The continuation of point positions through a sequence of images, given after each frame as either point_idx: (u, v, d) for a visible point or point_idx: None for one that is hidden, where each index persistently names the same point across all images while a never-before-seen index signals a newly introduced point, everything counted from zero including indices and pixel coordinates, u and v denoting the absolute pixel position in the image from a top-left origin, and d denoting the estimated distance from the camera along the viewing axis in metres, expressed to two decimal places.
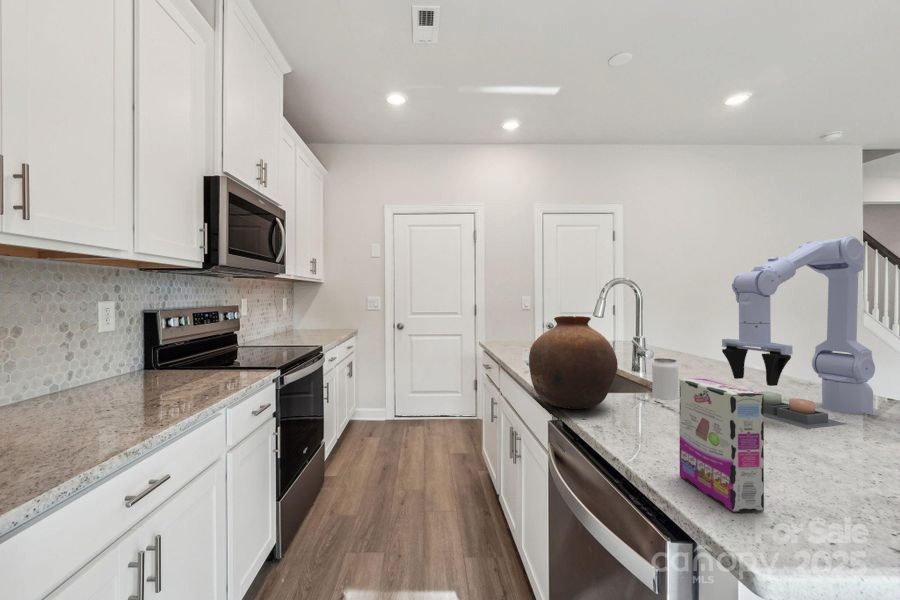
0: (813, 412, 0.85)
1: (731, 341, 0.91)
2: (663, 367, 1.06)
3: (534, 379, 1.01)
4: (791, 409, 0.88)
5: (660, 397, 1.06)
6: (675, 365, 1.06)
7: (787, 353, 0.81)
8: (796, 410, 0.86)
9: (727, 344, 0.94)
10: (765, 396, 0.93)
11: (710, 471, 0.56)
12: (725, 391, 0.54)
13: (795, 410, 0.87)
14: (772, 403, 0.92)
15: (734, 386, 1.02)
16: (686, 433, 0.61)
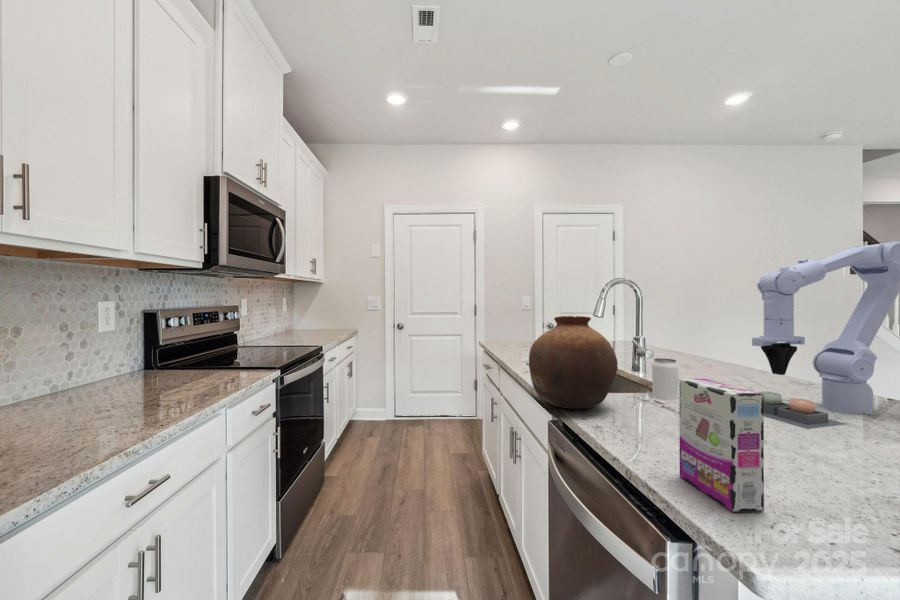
0: (813, 412, 0.85)
1: None
2: (663, 367, 1.06)
3: (534, 379, 1.01)
4: (791, 409, 0.88)
5: (660, 397, 1.06)
6: (675, 365, 1.06)
7: (753, 344, 0.93)
8: (796, 410, 0.86)
9: None
10: (765, 396, 0.93)
11: (710, 471, 0.56)
12: (725, 391, 0.54)
13: (795, 410, 0.87)
14: (772, 403, 0.92)
15: (734, 386, 1.02)
16: (686, 433, 0.61)
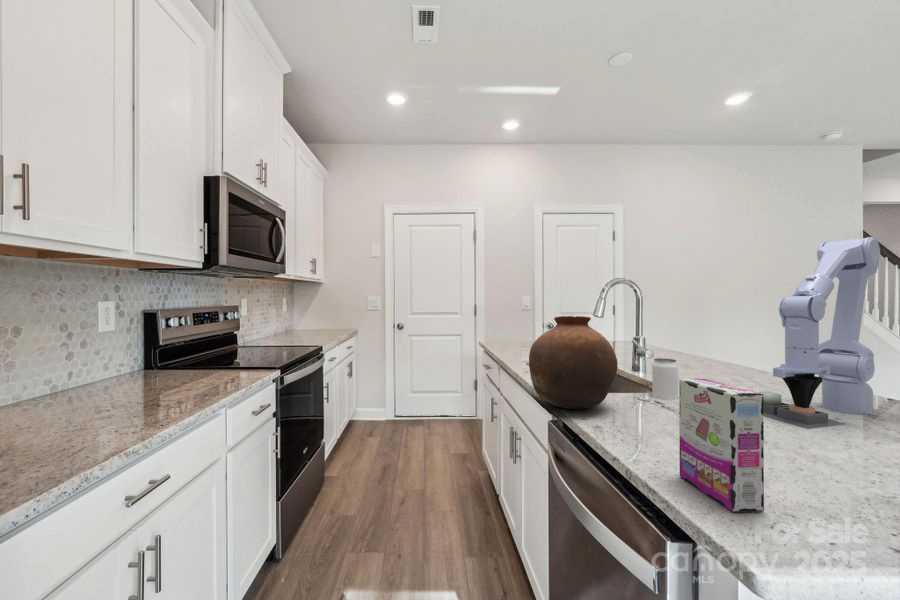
0: None
1: None
2: (663, 367, 1.06)
3: (534, 379, 1.01)
4: None
5: (660, 397, 1.06)
6: (675, 365, 1.06)
7: (775, 375, 0.86)
8: None
9: None
10: (765, 396, 0.93)
11: (710, 471, 0.56)
12: (725, 391, 0.54)
13: None
14: (772, 403, 0.92)
15: (734, 386, 1.02)
16: (686, 433, 0.61)
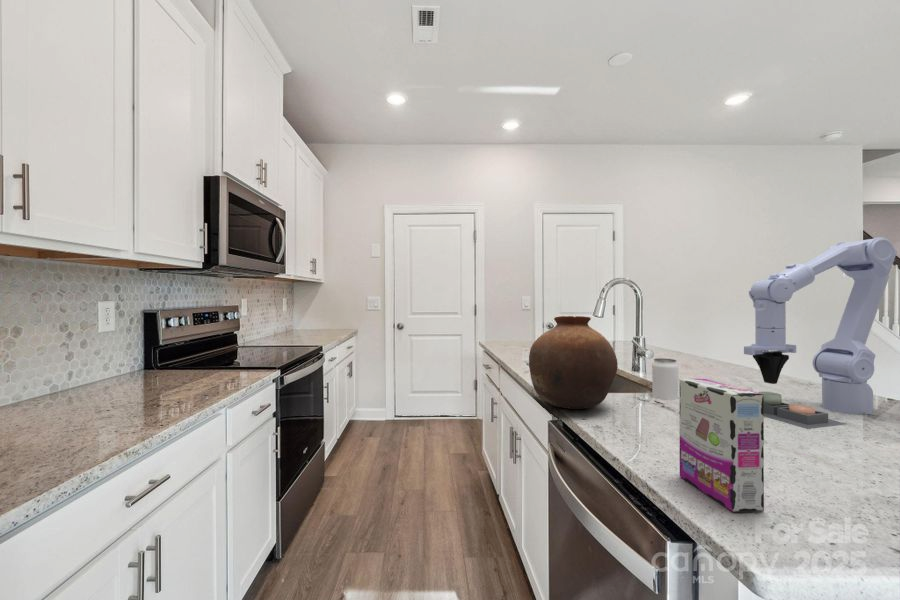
0: None
1: None
2: (663, 367, 1.06)
3: (534, 379, 1.01)
4: None
5: (660, 397, 1.06)
6: (675, 365, 1.06)
7: (745, 353, 0.92)
8: None
9: None
10: (765, 396, 0.93)
11: (710, 471, 0.56)
12: (725, 391, 0.54)
13: None
14: (772, 403, 0.92)
15: (734, 386, 1.02)
16: (686, 433, 0.61)
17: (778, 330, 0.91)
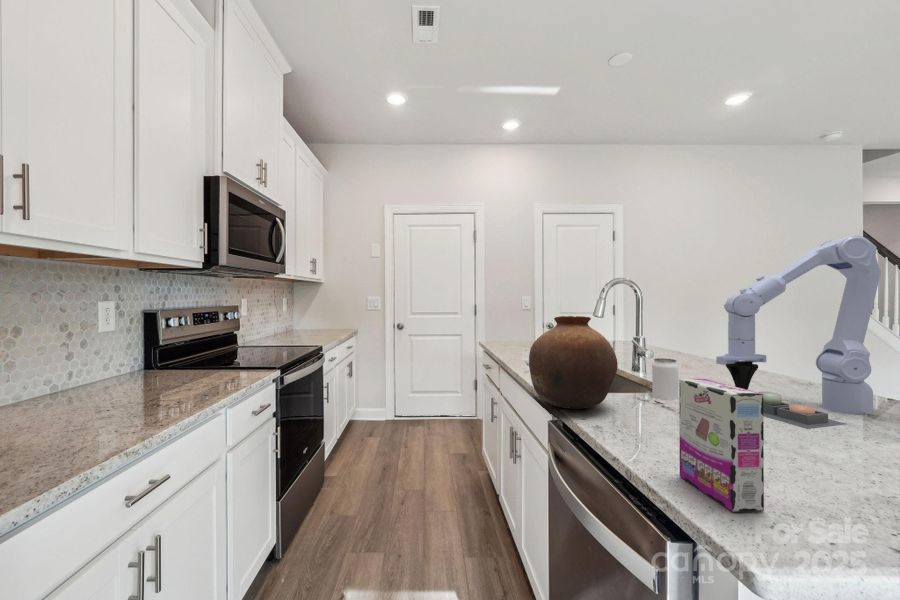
0: None
1: None
2: (663, 367, 1.06)
3: (534, 379, 1.01)
4: None
5: (660, 397, 1.06)
6: (675, 365, 1.06)
7: (718, 362, 1.00)
8: None
9: None
10: (765, 396, 0.93)
11: (710, 471, 0.56)
12: (725, 391, 0.54)
13: None
14: (772, 403, 0.92)
15: None
16: (686, 433, 0.61)
17: (748, 341, 0.98)
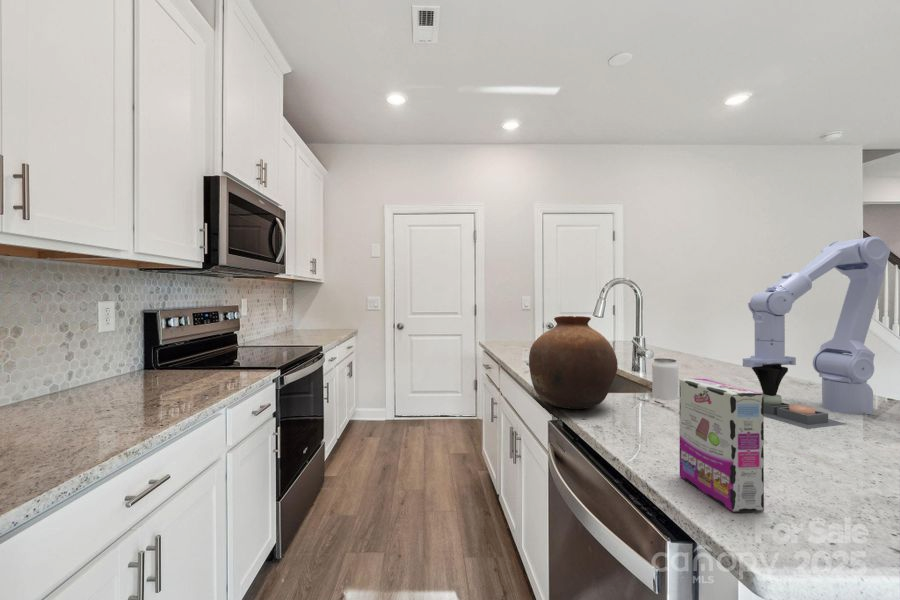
0: None
1: None
2: (663, 367, 1.06)
3: (534, 379, 1.01)
4: None
5: (660, 397, 1.06)
6: (675, 365, 1.06)
7: (744, 365, 0.93)
8: None
9: None
10: (765, 397, 0.93)
11: (710, 471, 0.56)
12: (725, 391, 0.54)
13: None
14: (772, 404, 0.92)
15: None
16: (686, 433, 0.61)
17: (777, 343, 0.91)
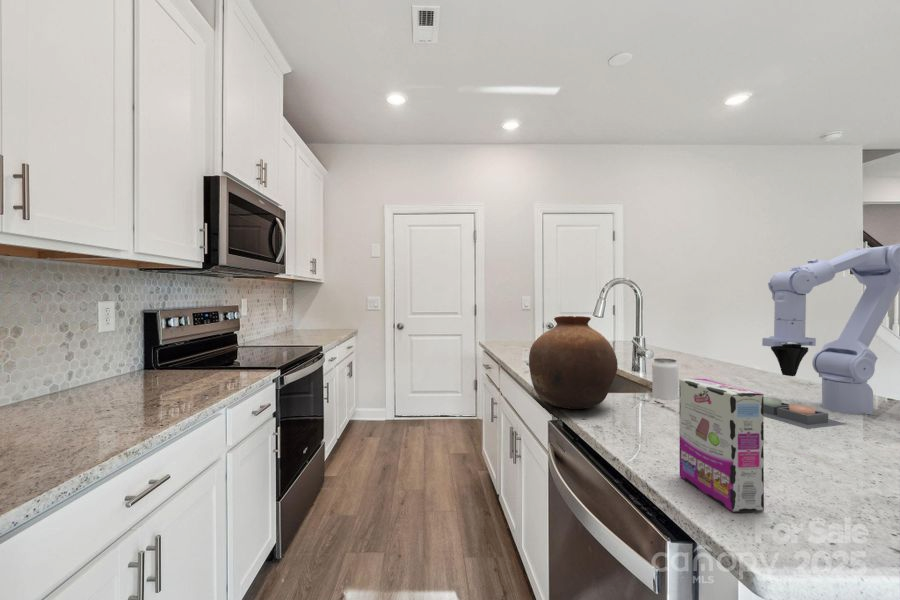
0: None
1: None
2: (663, 367, 1.06)
3: (534, 379, 1.01)
4: None
5: (660, 397, 1.06)
6: (675, 365, 1.06)
7: (764, 344, 0.92)
8: None
9: None
10: (765, 401, 0.93)
11: (710, 471, 0.56)
12: (725, 391, 0.54)
13: None
14: None
15: None
16: (686, 433, 0.61)
17: (798, 322, 0.90)
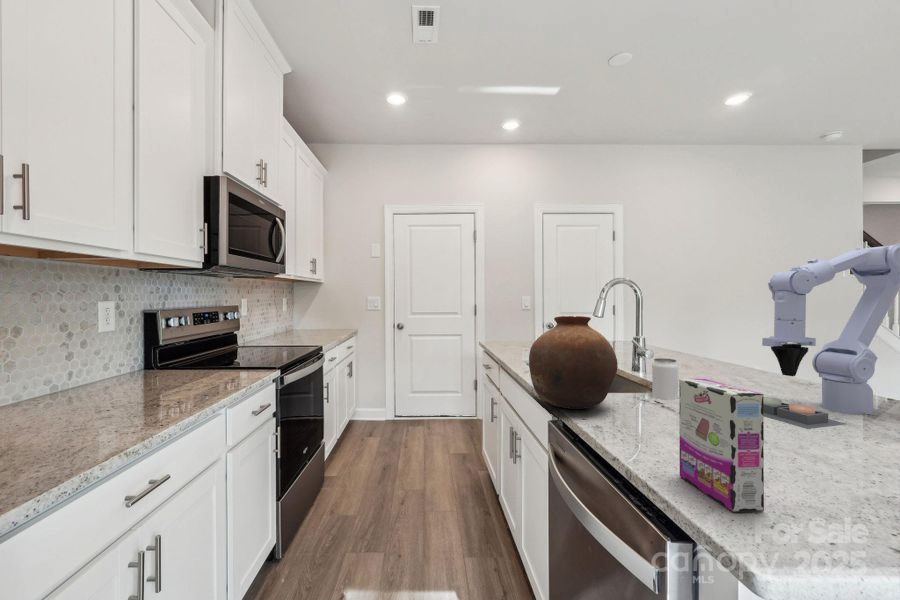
0: None
1: None
2: (663, 367, 1.06)
3: (534, 379, 1.01)
4: None
5: (660, 397, 1.06)
6: (675, 365, 1.06)
7: (764, 344, 0.92)
8: None
9: None
10: (765, 401, 0.93)
11: (710, 471, 0.56)
12: (725, 391, 0.54)
13: None
14: None
15: None
16: (686, 433, 0.61)
17: (798, 322, 0.90)
